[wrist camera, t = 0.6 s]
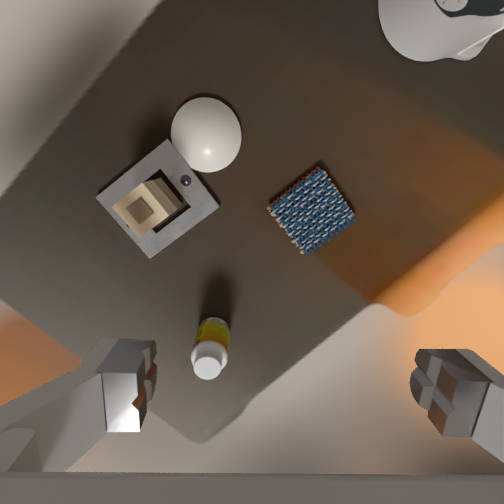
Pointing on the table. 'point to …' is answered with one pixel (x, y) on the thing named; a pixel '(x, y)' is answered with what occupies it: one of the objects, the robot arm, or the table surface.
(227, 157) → the pad
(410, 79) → the table surface
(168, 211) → the block
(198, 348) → the supplement bottle
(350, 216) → the woven mat
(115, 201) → the rail plate
